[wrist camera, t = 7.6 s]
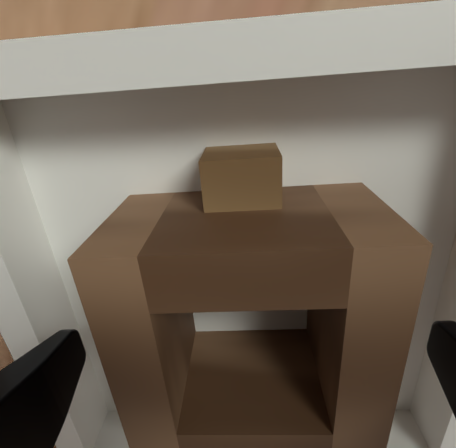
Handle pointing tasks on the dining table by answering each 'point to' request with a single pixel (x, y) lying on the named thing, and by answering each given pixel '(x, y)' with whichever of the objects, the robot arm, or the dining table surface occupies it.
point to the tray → (225, 136)
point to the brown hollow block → (253, 308)
